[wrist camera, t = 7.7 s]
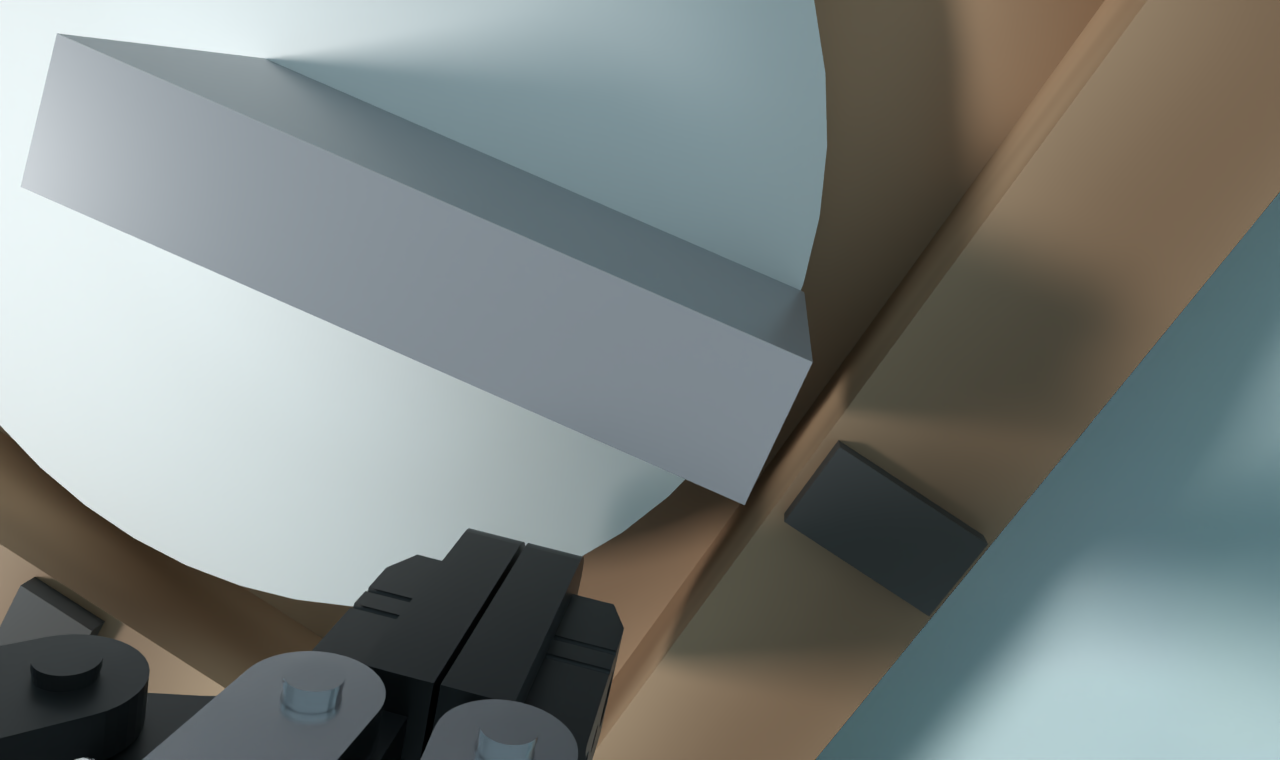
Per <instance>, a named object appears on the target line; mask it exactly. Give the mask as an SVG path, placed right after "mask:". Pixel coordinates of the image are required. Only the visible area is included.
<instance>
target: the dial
mask: <svg viewBox="0 0 1280 760" xmlns="http://www.w3.org/2000/svg"><path fill="white" fill-rule="evenodd" d="M826 152H827V120H826V77H825V68H824V61H823V55H822V48H821V42H820V35H819V29H818V22H817V16H816V9H815V3H814V0H0V426H1V427H2V428H3V429H4V430H5V431H6V432H7V433H8V434H9V435H10V436H11V437H12V438H13V439H14V440H15V441H16V442H17V443H18V444H19V446H20V447H21V448H22V449H23V450H24V451H25V452H26V453H27V454H28V455H29V456H30V457H31V458H32V459H33V460H34V461H35V462H36V463H37V464H38V465H39V467H40V468H42V469H43V470H44V471H45V472H46V473H48V474H49V475H50V476H51V477H52V478H54V479H55V480H56V481H57V482H58V483H59V484H61V485H62V486H63V487H64V488H65V489H67V490H68V491H69V492H70V493H71V494H72V495H74V496H75V497H76V498H77V499H78V500H80V501H81V502H82V503H83V504H84V505H85V506H87V507H88V508H90V509H91V510H93V511H94V512H96V513H97V514H99V515H100V516H102V517H103V518H105V519H106V520H108V521H109V522H111V523H112V524H114V525H115V526H117V527H118V528H120V529H121V530H123V531H124V532H126V533H127V534H129V535H130V536H132V537H133V538H135V539H137V540H138V541H140V542H142V543H144V544H146V545H148V546H150V547H152V548H154V549H156V550H158V551H160V552H162V553H164V554H165V555H167V556H169V557H171V558H173V559H175V560H177V561H179V562H181V563H183V564H185V565H187V566H190V567H192V568H195V569H197V570H200V571H203V572H205V573H208V574H211V575H213V576H216V577H219V578H221V579H224V580H226V581H229V582H232V583H234V584H237V585H240V586H244V587H248V588H252V589H256V590H260V591H264V592H268V593H272V594H276V595H280V596H284V597H288V598H292V599H296V600H304V601H312V602H321V603H329V604H337V605H345V606H354V603H355V602H356V601H357V600H358V598H359V597H360V596H361V595H362V594H363V593H364V592H365V591H368V588H369V586H370V585H371V584H372V583H373V582H374V581H375V580H376V578H377V577H378V576H379V575H380V574H381V573H382V572H383V571H384V569H385V568H386V567H389V566H391V565H393V564H396V563H398V562H401V561H403V560H405V559H408V558H410V557H413V556H415V555H421V556H425V557H429V558H433V559H437V560H441V561H442V560H443V559H444V558H445V557H446V555H447V554H448V553H449V551H450V550H451V549H452V548H453V546H454V545H455V544H456V542H457V541H458V540H459V539H460V537H461V536H462V535H463V533H464V532H465V531H466V530H467V529H468V528H471V529H475V530H479V531H483V532H487V533H490V534H494V535H498V536H502V537H506V538H510V539H514V540H518V541H522V542H525V546H526V545H527V544H528V543H531V544H535V545H539V546H543V547H547V548H551V549H555V550H559V551H563V552H567V553H571V554H575V555H579V556H583V555H585V554H586V553H588V552H590V551H592V550H593V549H595V548H597V547H598V546H600V545H602V544H604V543H605V542H607V541H609V540H610V539H612V538H614V537H616V536H617V535H619V534H621V533H622V532H624V531H625V530H626V529H627V528H629V527H630V526H631V525H633V524H634V523H635V522H636V521H638V520H639V519H640V518H642V517H643V516H644V515H645V514H647V513H648V512H649V511H650V510H652V509H653V508H654V507H656V506H657V505H658V504H659V503H661V502H662V501H663V500H665V499H666V498H667V497H668V496H669V495H670V494H671V493H672V492H673V491H674V490H675V489H676V488H677V487H678V486H679V485H680V484H681V483H682V482H683V481H684V480H685V479H686V480H688V481H691V482H693V483H695V484H698V485H700V486H702V487H704V488H707V489H709V490H711V491H713V492H716V493H718V494H720V495H723V496H725V497H727V498H729V499H732V500H734V501H736V502H738V503H741V504H743V505H745V503H746V501H747V499H748V497H749V495H750V493H751V491H752V488H753V486H754V484H755V482H756V480H757V478H758V476H759V474H760V472H761V470H762V467H763V465H764V463H765V461H766V459H767V457H768V455H769V453H770V451H771V449H772V446H773V444H774V442H775V440H776V438H777V436H778V434H779V432H780V430H781V428H782V425H783V423H784V421H785V419H786V417H787V415H788V413H789V411H790V409H791V407H792V404H793V402H794V400H795V398H796V396H797V394H798V392H799V390H800V388H801V386H802V383H803V381H804V379H805V377H806V375H807V373H808V371H809V369H810V367H811V365H812V362H813V361H812V352H811V344H810V335H809V327H808V319H807V310H806V302H805V294H804V292H803V291H801V289H802V286H803V283H804V279H805V275H806V271H807V267H808V263H809V259H810V254H811V250H812V246H813V242H814V238H815V234H816V229H817V225H818V221H819V217H820V208H821V199H822V190H823V180H824V171H825V161H826Z"/></svg>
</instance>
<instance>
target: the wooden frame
mask: <svg viewBox="0 0 1280 760" xmlns="http://www.w3.org/2000/svg"><path fill="white" fill-rule="evenodd" d="M814 3H815V9H816V16H817V22H818V29H819V35H820V42H821V48H822V55H823V61H824V68H825V77H826V120H827V152H826V161H825V171H824V180H823V190H822V199H821V208H820V217H819V221H818V225H817V229H816V234H815V238H814V242H813V246H812V250H811V254H810V259H809V263H808V267H807V271H806V275H805V279H804V283H803V286H802V289H801V291H803V292H804V294H805V302H806V310H807V319H808V327H809V335H810V344H811V352H812V361H813V362H812V365H811V367H810V369H809V371H808V373H807V375H806V377H805V379H804V381H803V383H802V386H801V388H800V390H799V392H798V394H797V396H796V398H795V400H794V402H793V404H792V407H791V409H790V411H789V413H788V415H787V417H786V419H785V421H784V423H783V425H782V428H781V430H780V432H779V434H778V436H777V438H776V440H775V442H774V444H773V446H772V449H771V451H770V453H769V455H768V457H767V459H766V461H765V463H764V465H763V467H762V470H761V472H760V474H759V476H758V478H757V480H756V482H755V484H754V486H753V488H752V491H751V493H750V495H749V497H748V499H747V501H746V503H745V505H743V504H741V503H738V502H736V501H734V500H732V499H729V498H727V497H725V496H723V495H720V494H718V493H716V492H713V491H711V490H709V489H707V488H704V487H702V486H700V485H698V484H695V483H693V482H691V481H688V480H686V479H685V480H684V481H683V482H682V483H681V484H680V485H679V486H678V487H677V488H676V489H675V490H674V491H673V492H672V493H671V494H670V495H669V496H668V497H667V498H666V499H665V500H663V501H662V502H661V503H659V504H658V505H657V506H656V507H654V508H653V509H652V510H650V511H649V512H648V513H647V514H645V515H644V516H643V517H642V518H640V519H639V520H638V521H636V522H635V523H634V524H633V525H631V526H630V527H629V528H627V529H626V530H625V531H624V532H622V533H621V534H619V535H617V536H616V537H614V538H612V539H610V540H609V541H607V542H605V543H604V544H602V545H600V546H598V547H597V548H595V549H593V550H592V551H590V552H588V553H586V554H585V555H583V557H584V565H583V571H582V577H581V582H580V586H579V591H578V595H579V596H583V597H587V598H591V599H595V600H599V601H603V602H607V603H610V604H614V606H615V608H616V610H617V613H618V615H619V617H620V620H621V622H622V624H623V627H624V631H623V635H622V640H621V644H620V649H619V653H618V657H617V662H616V666H615V671H614V675H613V680H612V684H611V688H610V693H609V697H608V702H607V706H606V711H605V715H604V719H603V724H602V728H601V733H600V736H599V740H598V743H597V746H596V750H595V753H594V756H593V760H815V759H816V758H817V757H818V756H819V754H820V753H821V752H822V751H823V749H824V748H825V747H826V746H827V745H828V743H829V742H830V741H831V740H832V738H833V737H834V736H835V735H836V734H837V732H838V731H839V730H840V729H841V727H842V726H843V725H844V724H845V723H846V721H847V720H848V719H849V718H850V716H851V715H852V714H853V713H854V712H855V710H856V709H857V708H858V707H859V705H860V704H861V703H862V702H863V701H864V699H865V698H866V697H867V696H868V694H869V693H870V692H871V691H872V690H873V688H874V687H875V686H876V685H877V683H878V682H879V681H880V680H881V679H882V677H883V676H884V675H885V674H886V672H887V671H888V670H889V669H890V668H891V666H892V665H893V664H894V663H895V661H896V660H897V659H898V658H899V657H900V655H901V654H902V653H903V652H904V650H905V649H906V648H907V647H908V646H909V644H910V643H911V642H912V641H913V639H914V638H915V637H916V636H917V635H918V633H919V632H920V631H921V630H922V628H923V627H924V626H925V625H926V624H927V622H928V621H929V620H930V619H931V617H932V616H933V615H934V614H935V613H936V611H937V610H938V609H939V608H940V606H941V605H942V604H943V603H944V602H945V600H946V599H947V598H948V597H949V595H950V594H951V593H952V592H953V591H954V589H955V588H956V587H957V586H958V584H959V583H960V582H961V581H962V580H963V578H964V577H965V576H966V575H967V573H968V572H969V571H970V570H971V569H972V567H973V566H974V565H975V564H976V562H977V561H978V560H979V559H980V558H981V556H982V555H983V554H984V553H985V551H986V550H987V549H988V548H989V547H990V545H991V544H992V543H993V542H994V540H995V539H996V538H997V537H998V536H999V534H1000V533H1001V532H1002V531H1003V529H1004V528H1005V527H1006V526H1007V525H1008V523H1009V522H1010V521H1011V520H1012V518H1013V517H1014V516H1015V515H1016V514H1017V512H1018V511H1019V510H1020V509H1021V507H1022V506H1023V505H1024V504H1025V503H1026V501H1027V500H1028V499H1029V498H1030V496H1031V495H1032V494H1033V493H1034V492H1035V490H1036V489H1037V488H1038V487H1039V485H1040V484H1041V483H1042V482H1043V481H1044V479H1045V478H1046V477H1047V476H1048V474H1049V473H1050V472H1051V471H1052V470H1053V468H1054V467H1055V466H1056V465H1057V463H1058V462H1059V461H1060V460H1061V459H1062V457H1063V456H1064V455H1065V454H1066V452H1067V451H1068V450H1069V449H1070V448H1071V446H1072V445H1073V444H1074V443H1075V441H1076V440H1077V439H1078V438H1079V437H1080V435H1081V434H1082V433H1083V432H1084V430H1085V429H1086V428H1087V427H1088V426H1089V424H1090V423H1091V422H1092V421H1093V419H1094V418H1095V417H1096V416H1097V415H1098V413H1099V412H1100V411H1101V410H1102V408H1103V407H1104V406H1105V405H1106V404H1107V402H1108V401H1109V400H1110V399H1111V397H1112V396H1113V395H1114V394H1115V393H1116V391H1117V390H1118V389H1119V388H1120V386H1121V385H1122V384H1123V383H1124V382H1125V380H1126V379H1127V378H1128V377H1129V375H1130V374H1131V373H1132V372H1133V371H1134V369H1135V368H1136V367H1137V366H1138V364H1139V363H1140V362H1141V361H1142V360H1143V358H1144V357H1145V356H1146V355H1147V353H1148V352H1149V351H1150V350H1151V349H1152V347H1153V346H1154V345H1155V344H1156V342H1157V341H1158V340H1159V339H1160V338H1161V336H1162V335H1163V334H1164V333H1165V331H1166V330H1167V329H1168V328H1169V327H1170V325H1171V324H1172V323H1173V322H1174V320H1175V319H1176V318H1177V317H1178V316H1179V314H1180V313H1181V312H1182V311H1183V309H1184V308H1185V307H1186V306H1187V305H1188V303H1189V302H1190V301H1191V300H1192V298H1193V297H1194V296H1195V295H1196V294H1197V292H1198V291H1199V290H1200V289H1201V287H1202V286H1203V285H1204V284H1205V283H1206V281H1207V280H1208V279H1209V278H1210V276H1211V275H1212V274H1213V273H1214V272H1215V270H1216V269H1217V268H1218V267H1219V265H1220V264H1221V263H1222V262H1223V261H1224V259H1225V258H1226V257H1227V256H1228V254H1229V253H1230V252H1231V251H1232V250H1233V248H1234V247H1235V246H1236V245H1237V243H1238V242H1239V241H1240V240H1241V239H1242V237H1243V236H1244V235H1245V234H1246V232H1247V231H1248V230H1249V229H1250V228H1251V226H1252V225H1253V224H1254V223H1255V221H1256V220H1257V219H1258V218H1259V217H1260V215H1261V214H1262V213H1263V212H1264V210H1265V209H1266V208H1267V207H1268V206H1269V204H1270V203H1271V202H1272V201H1273V199H1274V198H1275V197H1276V196H1277V195H1278V193H1279V192H1280V0H814ZM350 607H351V608H353V606H345V605H337V604H329V603H321V602H312V601H304V600H296V599H292V598H288V597H284V596H280V595H276V594H272V593H268V592H264V591H260V590H256V589H252V588H248V587H244V586H240V585H237V584H234V583H232V582H229V581H226V580H224V579H221V578H219V577H216V576H213V575H211V574H208V573H205V572H203V571H200V570H197V569H195V568H192V567H190V566H187V565H185V564H183V563H181V562H179V561H177V560H175V559H173V558H171V557H169V556H167V555H165V554H164V553H162V552H160V551H158V550H156V549H154V548H152V547H150V546H148V545H146V544H144V543H142V542H140V541H138V540H137V539H135V538H133V537H132V536H130V535H129V534H127V533H126V532H124V531H123V530H121V529H120V528H118V527H117V526H115V525H114V524H112V523H111V522H109V521H108V520H106V519H105V518H103V517H102V516H100V515H99V514H97V513H96V512H94V511H93V510H91V509H90V508H88V507H87V506H85V505H84V504H83V503H82V502H81V501H80V500H78V499H77V498H76V497H75V496H74V495H72V494H71V493H70V492H69V491H68V490H67V489H65V488H64V487H63V486H62V485H61V484H59V483H58V482H57V481H56V480H55V479H54V478H52V477H51V476H50V475H49V474H48V473H46V472H45V471H44V470H43V469H42V468H40V467H39V465H38V464H37V463H36V462H35V461H34V460H33V459H32V458H31V457H30V456H29V455H28V454H27V453H26V452H25V451H24V450H23V449H22V448H21V447H20V446H19V444H18V443H17V442H16V441H15V440H14V439H13V438H12V437H11V436H10V435H9V434H8V433H7V432H6V431H5V430H4V429H3V428H2V427H1V426H0V646H2V645H7V644H12V643H17V642H22V641H28V640H33V639H38V638H43V637H49V636H56V635H69V634H85V635H96V636H102V637H107V638H112V639H115V640H118V641H122V642H124V643H126V644H128V645H130V646H132V647H134V648H135V649H137V650H138V651H139V652H140V653H141V654H142V655H143V656H144V657H145V658H146V660H147V662H148V664H149V669H150V673H149V683H148V693H162V694H180V695H198V696H217V695H218V694H219V693H221V692H222V691H223V690H224V689H225V688H226V687H228V686H229V685H230V684H231V683H232V682H233V681H235V680H236V679H237V678H238V677H239V676H240V675H242V674H243V673H244V672H245V671H246V670H247V669H249V668H250V667H252V666H253V665H254V664H256V663H258V662H260V661H262V660H264V659H267V658H269V657H272V656H275V655H280V654H284V653H290V652H298V651H312V650H313V649H314V648H315V646H316V645H317V644H318V643H319V642H320V641H321V640H322V639H323V638H324V636H325V635H326V634H327V633H328V632H329V631H330V630H331V629H332V628H333V626H334V625H335V624H336V623H337V622H338V621H339V620H340V619H341V617H342V616H343V615H344V614H345V613H346V612H347V611H348V610H349V609H350Z"/></svg>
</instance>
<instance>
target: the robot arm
mask: <svg viewBox="0 0 1280 760" xmlns="http://www.w3.org/2000/svg"><path fill="white" fill-rule="evenodd" d="M583 565H584V557H583V556H579V555H575V554H571V553H567V552H563V551H559V550H555V549H551V548H547V547H543V546H539V545H535V544H531V543H528V544H527V545H526V546H525V542H522V541H518V540H514V539H510V538H506V537H502V536H498V535H494V534H490V533H487V532H483V531H479V530H475V529H471V528H468V529H467V530H466V531H465V532H464V533H463V535H462V536H461V537H460V539H459V540H458V541H457V542H456V544H455V545H454V546H453V548H452V549H451V550H450V551H449V553H448V554H447V555H446V557H445V558H444V559H443V560H442V561H441V560H437V559H433V558H429V557H425V556H421V555H415V556H413V557H410V558H408V559H405V560H403V561H401V562H398V563H396V564H393V565H391V566H389V567H386V568H385V569H384V571H383V572H382V573H381V574H380V575H379V576H378V577H377V578H376V580H375V581H374V582H373V583H372V584H371V585H370V586H369V588H368V591H365V592H364V593H363V594H362V595H361V596H360V597H359V598H358V600H357V601H356V602H355V603H354V606H353V608H351V607H350V609H349V610H348V611H347V612H346V613H345V614H344V615H343V616H342V617H341V619H340V620H339V621H338V622H337V623H336V624H335V625H334V626H333V628H332V629H331V630H330V631H329V632H328V633H327V634H326V635H325V636H324V638H323V639H322V640H321V641H320V642H319V643H318V644H317V645H316V646H315V648H314V649H313V650H312V651H298V652H290V653H284V654H280V655H275V656H272V657H269V658H267V659H264V660H262V661H260V662H258V663H256V664H254V665H253V666H252V667H250V668H249V669H247V670H246V671H245V672H244V673H243V674H242V675H240V676H239V677H238V678H237V679H236V680H235V681H233V682H232V683H231V684H230V685H229V686H228V687H226V688H225V689H224V690H223V691H222V692H221V693H219V694H218V695H217V696H198V695H180V694H162V693H148V683H149V673H150V669H149V664H148V662H147V660H146V658H145V657H144V656H143V655H142V654H141V653H140V652H139V651H138V650H137V649H135V648H134V647H132V646H130V645H128V644H126V643H124V642H122V641H118V640H115V639H112V638H107V637H102V636H96V635H85V634H69V635H56V636H49V637H43V638H38V639H33V640H28V641H22V642H17V643H12V644H7V645H2V646H0V760H593V756H594V753H595V750H596V746H597V743H598V740H599V736H600V733H601V728H602V724H603V719H604V715H605V711H606V706H607V702H608V697H609V693H610V688H611V684H612V680H613V675H614V671H615V666H616V662H617V657H618V653H619V649H620V644H621V640H622V635H623V631H624V627H623V624H622V622H621V620H620V617H619V615H618V613H617V610H616V608H615V606H614V604H610V603H607V602H603V601H599V600H595V599H591V598H587V597H583V596H579V595H578V591H579V586H580V582H581V577H582V571H583Z"/></svg>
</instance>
